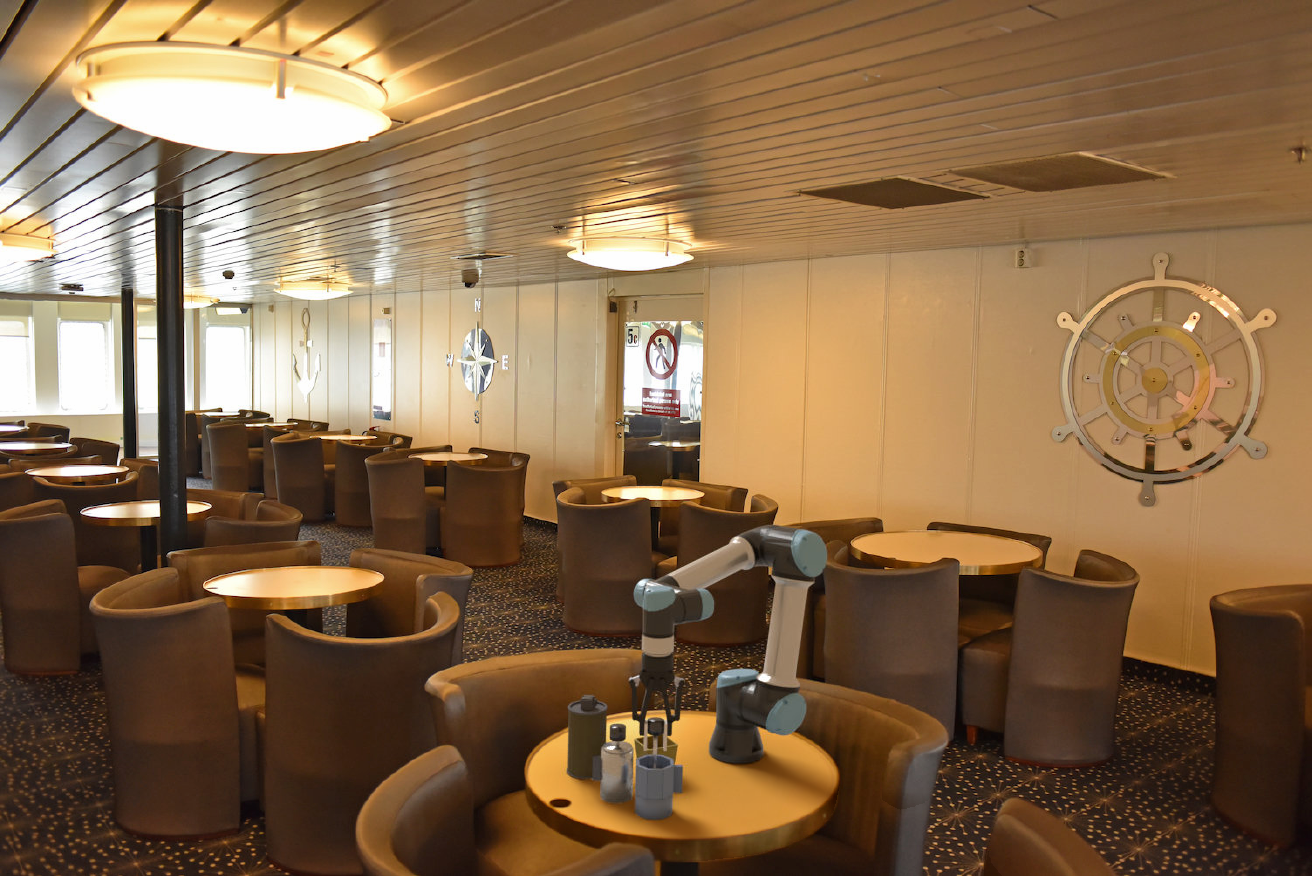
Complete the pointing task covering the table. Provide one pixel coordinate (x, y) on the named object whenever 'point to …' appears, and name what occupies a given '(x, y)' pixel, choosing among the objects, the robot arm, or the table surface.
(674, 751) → the flower pot
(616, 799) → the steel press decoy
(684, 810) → the table surface
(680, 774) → the blue mug
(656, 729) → the plunger
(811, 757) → the table surface
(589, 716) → the canister
